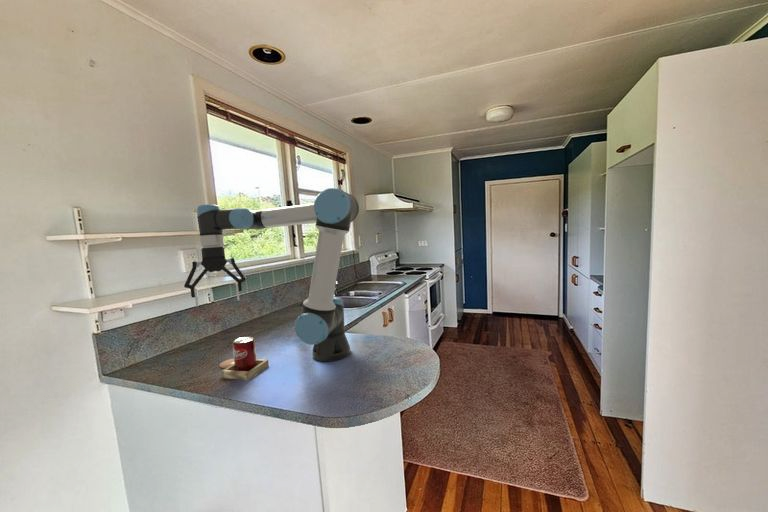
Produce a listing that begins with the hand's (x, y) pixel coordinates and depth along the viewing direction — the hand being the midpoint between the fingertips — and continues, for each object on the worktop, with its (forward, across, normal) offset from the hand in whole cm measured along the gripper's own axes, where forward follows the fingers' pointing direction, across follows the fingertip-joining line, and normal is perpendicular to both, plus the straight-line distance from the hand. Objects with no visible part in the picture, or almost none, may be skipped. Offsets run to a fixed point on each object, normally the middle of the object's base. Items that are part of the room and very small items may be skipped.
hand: (218, 302), depth 115 cm
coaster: (+25, -2, -1) cm, 25 cm away
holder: (+25, -7, +10) cm, 28 cm away
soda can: (+25, -7, +10) cm, 28 cm away
